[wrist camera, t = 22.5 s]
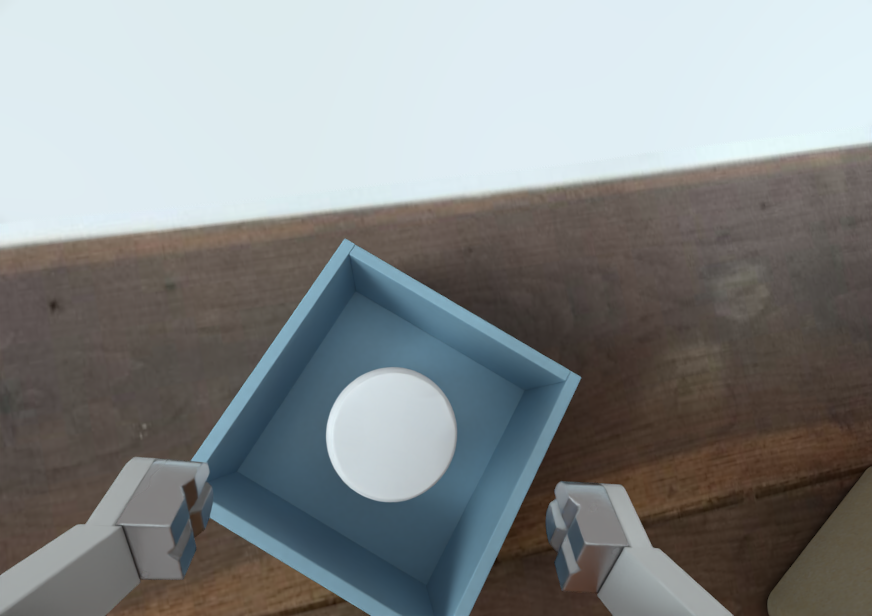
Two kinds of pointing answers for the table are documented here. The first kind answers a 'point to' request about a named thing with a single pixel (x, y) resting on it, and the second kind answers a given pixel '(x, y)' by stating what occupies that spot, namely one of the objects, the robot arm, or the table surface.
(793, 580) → the flower pot
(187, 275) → the table surface
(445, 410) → the pill bottle
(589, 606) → the table surface
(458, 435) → the open box
